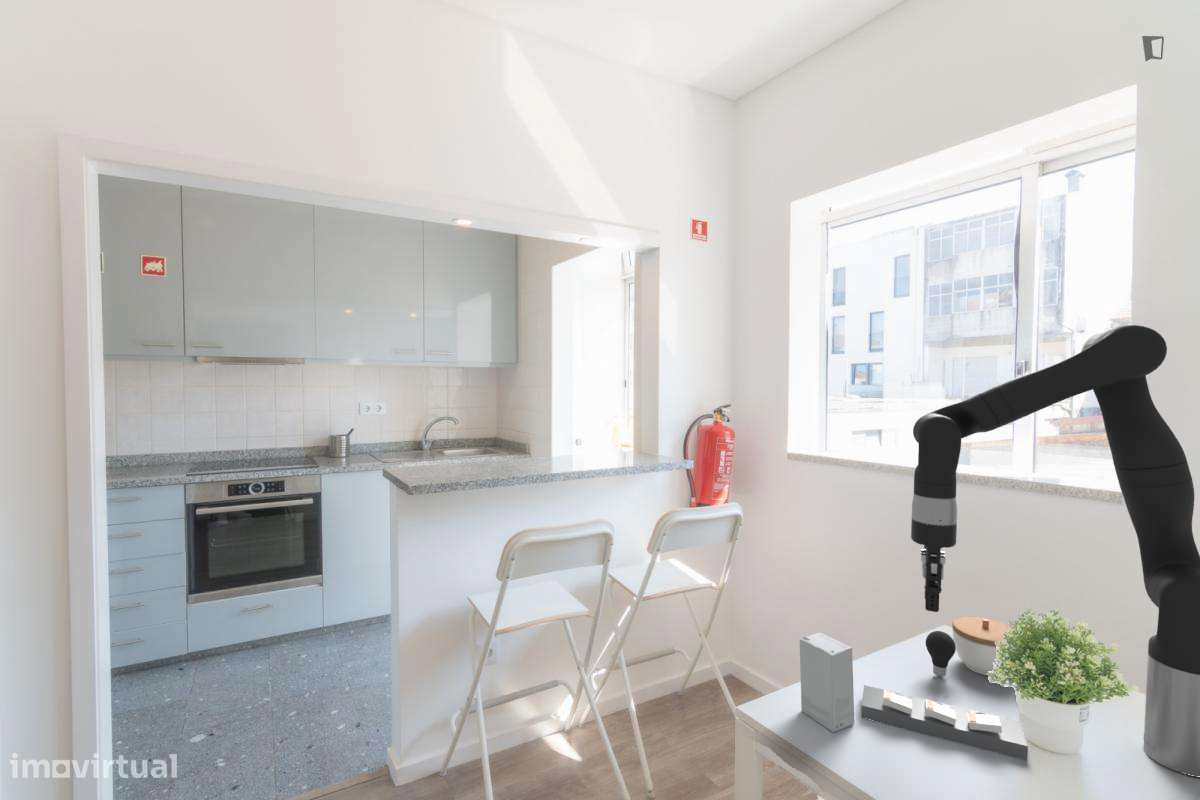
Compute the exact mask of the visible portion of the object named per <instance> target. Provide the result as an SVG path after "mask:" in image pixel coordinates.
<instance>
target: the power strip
mask: <svg viewBox="0 0 1200 800" xmlns="http://www.w3.org/2000/svg"><path fill="white" fill-rule="evenodd" d="M884 690H886V691H889V692H892V693H895V694H897V695H900V696H903V697H905V698H908V699H911V700H912V712H911V714H908V713H905V712H903V711H900V710H897V709H895V708H892V707H889V706H887V705H884V704H883V694H884ZM925 700H927V699H926V698H922V697H918V696H913V695H908V694H904V693H900V692H897V691H891V690H887V689H882V688H880V687H879V688H878V687H874V686H870V685H865V684H864V685H863V691H862V697H861V705H860V718H861V717H862V718H861V719H863V718H867V719H871V720H874V721H873V722H875V721H878V722H877V723H879V722H881V723H880V724H883V723H884V724H885V725H887V724H888V726H891V725H892V727H895V728H899V729H903V730H906V729H907V731H911V732H915V733H919V734H923V735H926V736H929V737H935V738H939V739H942V740H946V741H950V742H954V743H957V744H961V745H966V746H969V747H973V748H978V749H981V750H985V751H989V752H993V753H998V754H999V755H1000V754H1002V755H1005V756H1009V757H1013V758H1017V759H1020V760H1025V761H1028V756H1029V755H1028V754H1029V753H1028V752H1029V746H1028V743H1027V740H1026V735H1025V732H1024V730H1023V727H1022V723H1021V720H1017V719H1012V718H1008V717H1005V716H999V715H998V716H999V720H1000V724H1001V729H1002V733H1000V732H992V731H983V730H974V729H970V727H969V721H968V715H967V713H974V714H983V715H993V716H997V715H995V714H991V713H987V712H982V711H978V710H973V709H970V708H964V707H960V706H957V705H952V704H947V703H943V702H939V701H934V700H930V699H928V700H929V701H932V702H935V703H937V704H940V705H943V706H945V707H948V708H951V709H954V710H955V713H956V723H955V725H953V724H950V723H947V722H945V721H942V720H939V719H937V718H934V717H931V716H929V715H926V714H925V706H924V705H925ZM867 719H866V720H867ZM871 720H870V721H871ZM884 724H883V725H884Z"/></svg>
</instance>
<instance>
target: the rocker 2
mask: <svg viewBox="0 0 1200 800" xmlns="http://www.w3.org/2000/svg"><path fill="white" fill-rule="evenodd" d="M967 715H968V721H969V727H970V729H974V730H983V731H992V732H1000V733H1002V729H1001V724H1000V720H999V715H996V716H993V715H994V714H991V715H983V714H974V713H967Z"/></svg>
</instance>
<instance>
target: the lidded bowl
mask: <svg viewBox="0 0 1200 800" xmlns="http://www.w3.org/2000/svg"><path fill="white" fill-rule="evenodd" d="M951 624H952V625H951V626H952V639H953V640H954V643H955V646H956V650H955V653H956V654H957V656H958V658H959V659H960V660H961V661H962V662H963V663H964V664H965V667H966V668H968V669H969V670H971V671H972V672H974V673H976V674H979V673H980V675H982V674H983V675H982V676H986V677H988V676H987V673H988V671H992V670H993V662H994V661H995V658H996V645H995V643H994V642H995V641H999V640H1003V634H1004V633H1005V632H1007V631H1010V630H1011V626H1009V625H1008V624H1005V623H1003V622H1000V621H997V620H993V619H990V618H984V617H977V616H959V617H957V618H955V619H953V621H952V623H951Z"/></svg>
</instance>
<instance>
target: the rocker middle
mask: <svg viewBox="0 0 1200 800" xmlns="http://www.w3.org/2000/svg"><path fill="white" fill-rule="evenodd" d="M929 700H930V699H926V700H925V705H924V706H925V714H926V715H929V716H931V717H934V718H937V719H939V720H942V721H945V722H947V723H950V724H953V725H955V723H956V713H955V710H954V709H951V708H948V707H945V706H943V705H940V704H937V703H935V702H936V701H935V702H932V701H933V700H931V701H929Z"/></svg>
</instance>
